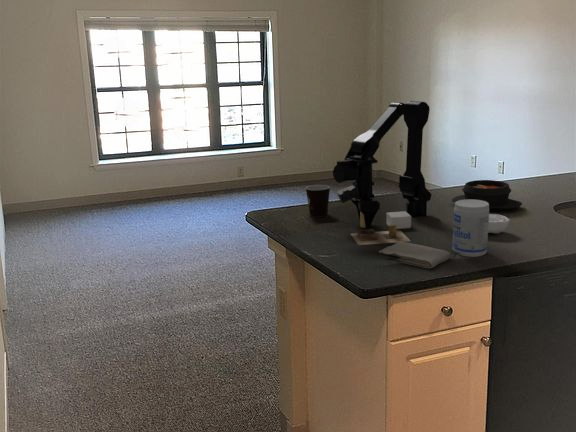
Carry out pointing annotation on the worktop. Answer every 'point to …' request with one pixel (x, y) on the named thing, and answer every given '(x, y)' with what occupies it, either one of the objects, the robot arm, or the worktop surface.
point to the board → (379, 236)
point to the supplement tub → (470, 227)
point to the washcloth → (416, 254)
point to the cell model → (497, 223)
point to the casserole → (489, 194)
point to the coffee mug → (318, 199)
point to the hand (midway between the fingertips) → (364, 224)
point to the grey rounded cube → (399, 219)
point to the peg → (362, 220)
